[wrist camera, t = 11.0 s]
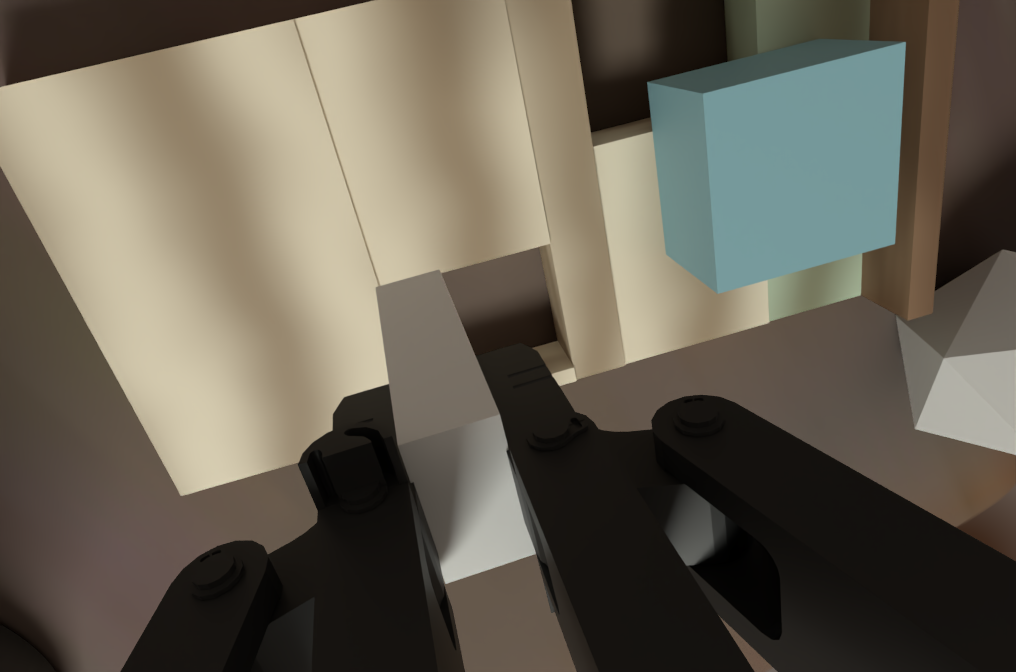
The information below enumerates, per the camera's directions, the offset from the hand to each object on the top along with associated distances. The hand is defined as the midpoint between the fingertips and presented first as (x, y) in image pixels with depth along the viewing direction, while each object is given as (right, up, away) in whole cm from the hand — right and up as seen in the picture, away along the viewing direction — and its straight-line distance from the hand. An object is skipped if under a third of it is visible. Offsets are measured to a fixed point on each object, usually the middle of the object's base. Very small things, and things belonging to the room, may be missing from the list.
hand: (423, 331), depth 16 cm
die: (+22, +1, +16) cm, 27 cm away
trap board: (+2, +5, +9) cm, 10 cm away
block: (+10, +6, +8) cm, 14 cm away
